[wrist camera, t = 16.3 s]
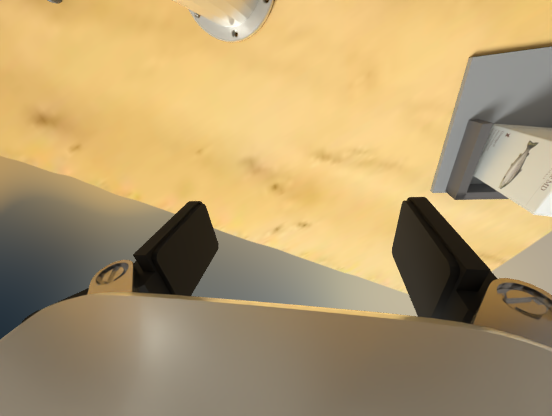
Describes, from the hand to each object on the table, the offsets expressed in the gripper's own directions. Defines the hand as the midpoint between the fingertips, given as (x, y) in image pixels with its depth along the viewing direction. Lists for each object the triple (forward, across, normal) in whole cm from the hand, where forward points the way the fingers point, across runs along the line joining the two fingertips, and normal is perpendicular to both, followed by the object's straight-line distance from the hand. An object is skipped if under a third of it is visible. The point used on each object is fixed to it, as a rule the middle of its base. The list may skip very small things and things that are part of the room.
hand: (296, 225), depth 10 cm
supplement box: (+28, -28, +6) cm, 40 cm away
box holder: (+28, -28, +4) cm, 40 cm away
